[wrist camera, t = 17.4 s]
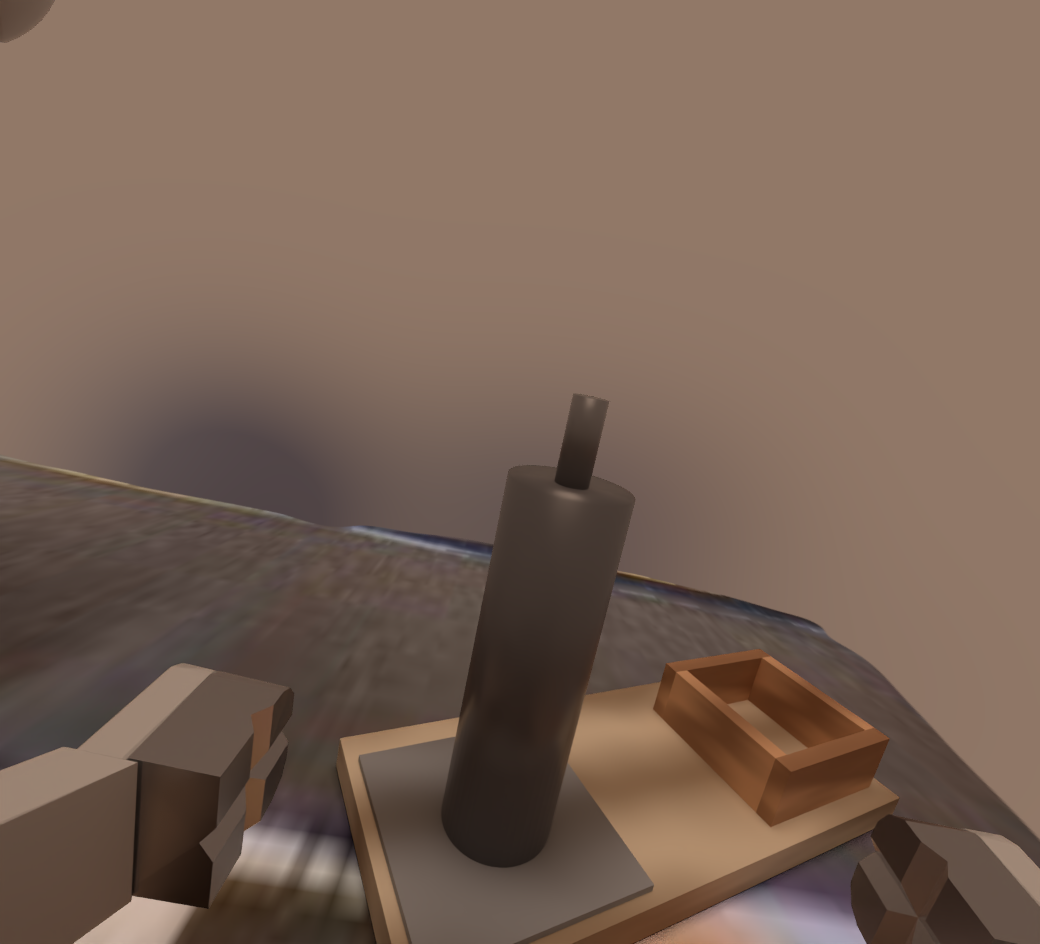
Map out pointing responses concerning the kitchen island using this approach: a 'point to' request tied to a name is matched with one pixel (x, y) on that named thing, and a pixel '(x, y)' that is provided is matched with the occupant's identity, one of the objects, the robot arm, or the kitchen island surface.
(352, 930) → the kitchen island surface
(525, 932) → the cable board
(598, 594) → the plug
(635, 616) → the kitchen island surface
